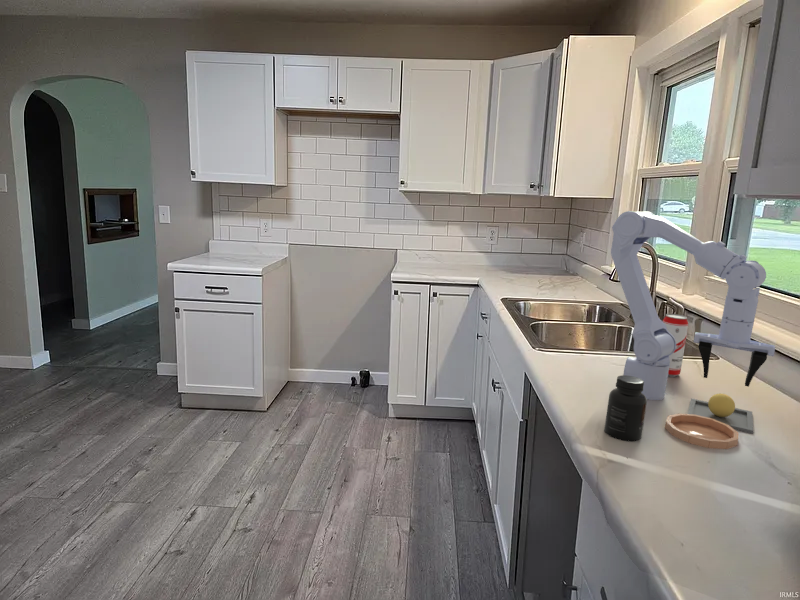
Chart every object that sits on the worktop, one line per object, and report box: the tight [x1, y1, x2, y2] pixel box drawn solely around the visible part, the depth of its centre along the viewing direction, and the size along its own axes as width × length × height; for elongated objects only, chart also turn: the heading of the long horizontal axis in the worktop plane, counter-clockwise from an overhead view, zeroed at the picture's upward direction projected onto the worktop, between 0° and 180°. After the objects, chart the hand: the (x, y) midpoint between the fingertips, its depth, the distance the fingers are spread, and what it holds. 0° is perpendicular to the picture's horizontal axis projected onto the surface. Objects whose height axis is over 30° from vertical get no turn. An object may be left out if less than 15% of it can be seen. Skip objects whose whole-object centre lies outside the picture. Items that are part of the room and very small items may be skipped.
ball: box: [707, 393, 736, 417], centre depth 118 cm, size 5×5×5 cm
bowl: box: [664, 412, 739, 450], centre depth 109 cm, size 13×13×2 cm
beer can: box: [662, 313, 689, 378], centre depth 146 cm, size 6×6×16 cm
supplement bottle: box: [604, 374, 648, 443], centre depth 106 cm, size 7×7×12 cm
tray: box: [686, 398, 754, 434], centre depth 119 cm, size 12×12×1 cm
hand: (725, 380), depth 117 cm, fingers open, 7 cm apart
